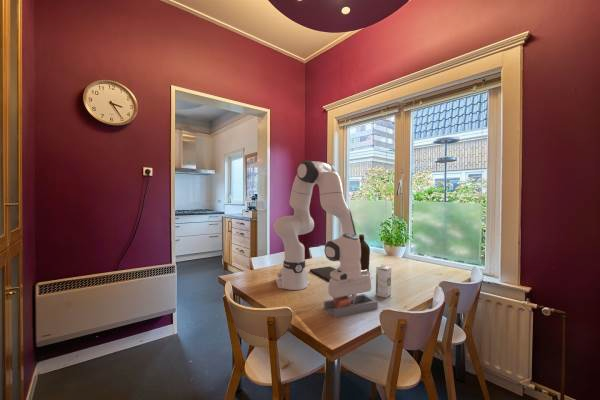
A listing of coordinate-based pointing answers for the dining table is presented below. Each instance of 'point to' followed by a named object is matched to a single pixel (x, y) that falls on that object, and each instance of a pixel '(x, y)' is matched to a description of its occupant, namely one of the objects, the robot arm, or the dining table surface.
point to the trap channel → (352, 306)
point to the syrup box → (383, 281)
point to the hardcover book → (323, 272)
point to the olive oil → (364, 253)
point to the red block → (341, 302)
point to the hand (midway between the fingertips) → (350, 304)
